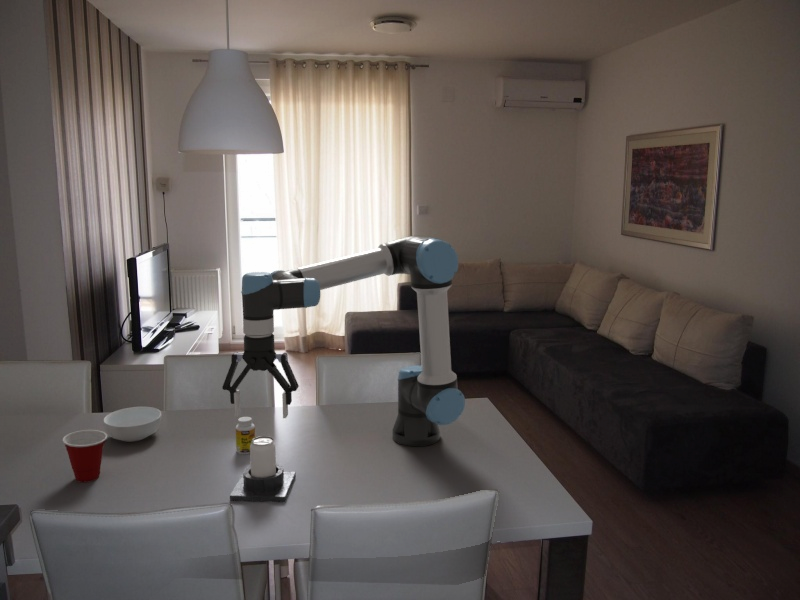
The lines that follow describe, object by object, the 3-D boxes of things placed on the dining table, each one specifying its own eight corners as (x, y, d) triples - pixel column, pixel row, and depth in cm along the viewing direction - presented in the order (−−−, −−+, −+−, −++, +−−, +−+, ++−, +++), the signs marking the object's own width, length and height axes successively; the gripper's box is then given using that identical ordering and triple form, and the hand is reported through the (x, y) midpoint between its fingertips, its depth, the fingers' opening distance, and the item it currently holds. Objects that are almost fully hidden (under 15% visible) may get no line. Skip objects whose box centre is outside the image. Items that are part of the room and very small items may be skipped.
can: (253, 477, 169) (251, 435, 167) (277, 477, 170) (276, 435, 167) (249, 489, 163) (247, 445, 160) (274, 488, 163) (273, 445, 161)
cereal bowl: (92, 442, 195) (90, 420, 193) (133, 423, 210) (132, 403, 209) (135, 451, 188) (133, 429, 187) (174, 431, 204) (172, 410, 202)
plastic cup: (103, 485, 167) (99, 443, 165) (59, 488, 166) (55, 445, 163) (115, 467, 178) (112, 427, 175) (75, 469, 176) (71, 429, 174)
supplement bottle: (240, 456, 185) (238, 423, 184) (233, 449, 190) (232, 417, 188) (258, 452, 188) (257, 419, 187) (251, 445, 193) (250, 414, 191)
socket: (295, 476, 173) (295, 459, 172) (284, 502, 159) (284, 483, 158) (244, 475, 173) (244, 458, 173) (230, 501, 160) (229, 482, 159)
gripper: (308, 331, 162) (310, 411, 166) (216, 329, 163) (220, 409, 167) (303, 338, 155) (305, 422, 159) (206, 337, 155) (210, 420, 159)
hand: (261, 415), depth 163 cm, fingers open, 12 cm apart
